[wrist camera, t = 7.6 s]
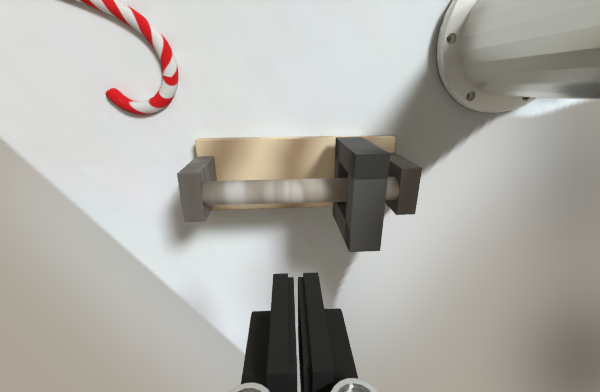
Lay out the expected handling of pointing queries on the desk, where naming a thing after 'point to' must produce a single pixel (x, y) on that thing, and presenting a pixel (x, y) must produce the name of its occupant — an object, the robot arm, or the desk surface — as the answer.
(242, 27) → the desk surface
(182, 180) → the rail fixture
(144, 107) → the candy cane
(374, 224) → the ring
